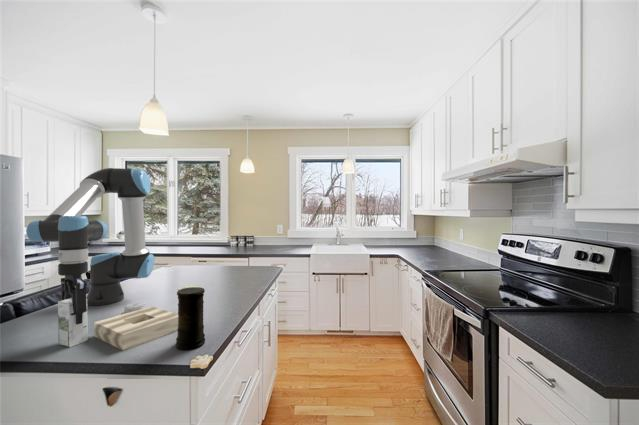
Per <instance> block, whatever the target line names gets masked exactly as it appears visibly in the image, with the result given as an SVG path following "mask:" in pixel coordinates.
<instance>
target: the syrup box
mask: <svg viewBox="0 0 639 425" xmlns="http://www.w3.org/2000/svg"><path fill="white" fill-rule="evenodd" d="M86 305H87V299H86ZM87 306H88V305H87ZM72 313H74V312H73V303H72V298H68V299H65V300H62V301H61V300H58V301H57V317H58V318H57V319H58V320H57V321H58V322H57V323H58V325H57V327H58V330H57V331H58V332H57V333H58V337H57V338H58V342H57V343H58V345H59V346H63V347H67V348H72V347H75V346H77V345H79V344H83V343H85V342H87V341H88V340H89V339H88V331H89V330H88V329H89V328H88V310H87V311H86V312H84V313H83V332H82V333H79V334H75V335H72V316H71V314H72Z"/></svg>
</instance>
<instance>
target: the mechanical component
mask: <svg viewBox="0 0 639 425" xmlns="http://www.w3.org/2000/svg"><path fill="white" fill-rule="evenodd" d="M144 308H146V303H144V302H134V303H129V304H127V305H125V306H124V310H123V311H122V312H121V313H120V315H122V314H126V313H130V312H133V311H137V310H141V309H144Z"/></svg>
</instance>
